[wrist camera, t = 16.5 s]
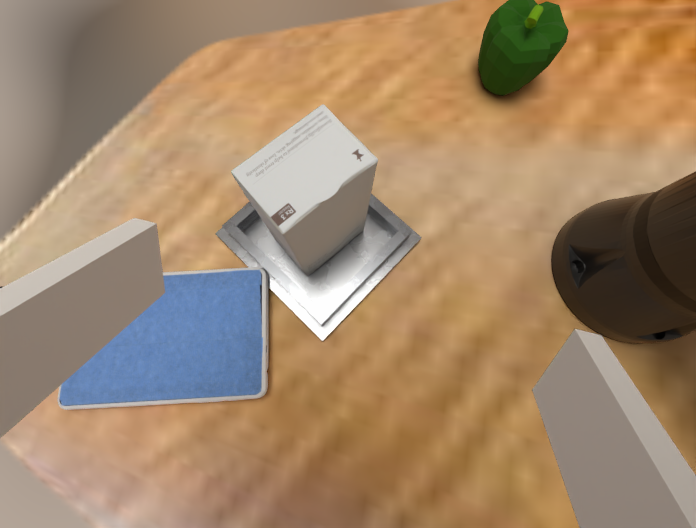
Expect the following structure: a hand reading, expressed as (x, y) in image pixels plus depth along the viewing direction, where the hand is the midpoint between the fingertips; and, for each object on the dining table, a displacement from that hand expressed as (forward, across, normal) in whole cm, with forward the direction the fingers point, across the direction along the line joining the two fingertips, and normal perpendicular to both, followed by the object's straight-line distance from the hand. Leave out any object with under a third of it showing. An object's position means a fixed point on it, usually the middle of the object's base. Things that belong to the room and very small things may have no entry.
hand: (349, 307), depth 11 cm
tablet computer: (+14, -17, -20) cm, 30 cm away
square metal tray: (+24, -6, -11) cm, 27 cm away
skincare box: (+24, -6, -10) cm, 26 cm away
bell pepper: (+44, +10, +7) cm, 45 cm away
